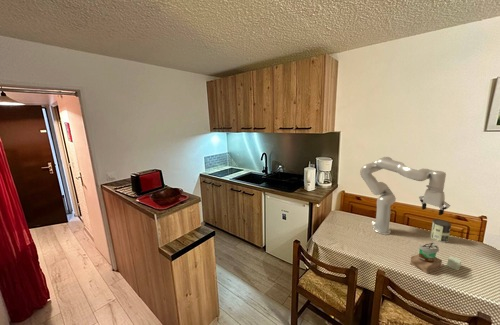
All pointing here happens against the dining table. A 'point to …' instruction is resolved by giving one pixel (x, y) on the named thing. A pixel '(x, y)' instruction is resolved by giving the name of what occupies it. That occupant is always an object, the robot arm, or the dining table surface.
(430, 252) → the food container
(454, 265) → the sage block
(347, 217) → the dining table surface
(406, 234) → the dining table surface
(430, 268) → the walnut block
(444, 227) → the coffee can
